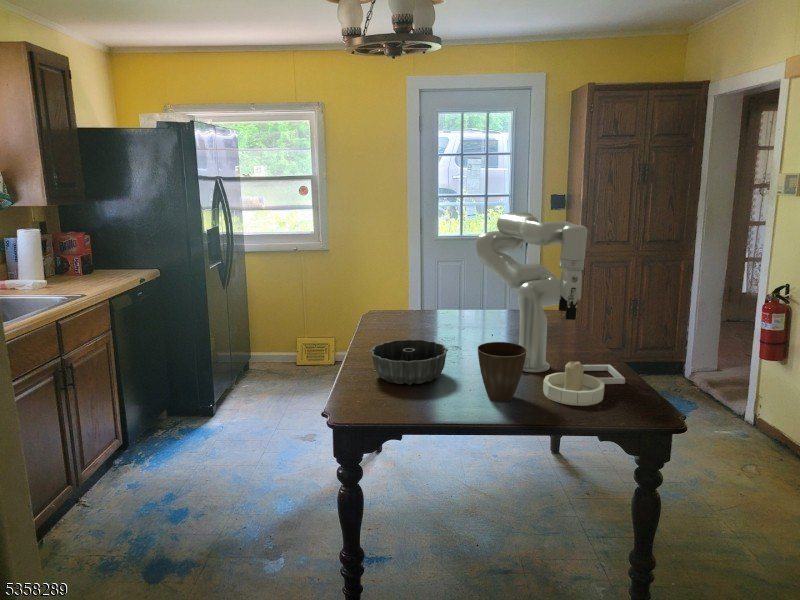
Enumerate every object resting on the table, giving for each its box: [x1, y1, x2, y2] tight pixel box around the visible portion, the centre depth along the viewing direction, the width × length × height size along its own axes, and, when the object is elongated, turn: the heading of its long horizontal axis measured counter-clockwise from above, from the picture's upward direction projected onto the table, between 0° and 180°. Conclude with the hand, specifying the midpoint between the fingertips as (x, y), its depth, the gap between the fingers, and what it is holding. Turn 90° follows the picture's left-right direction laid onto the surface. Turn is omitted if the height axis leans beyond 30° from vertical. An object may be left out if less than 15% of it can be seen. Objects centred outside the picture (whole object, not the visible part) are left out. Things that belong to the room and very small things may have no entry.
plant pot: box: [477, 341, 527, 403], centre depth 180 cm, size 15×15×16 cm
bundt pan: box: [369, 338, 449, 386], centre depth 201 cm, size 26×26×10 cm
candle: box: [564, 360, 585, 391], centre depth 183 cm, size 6×6×10 cm
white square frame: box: [582, 364, 626, 385], centre depth 200 cm, size 14×14×2 cm
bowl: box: [542, 371, 606, 407], centre depth 184 cm, size 18×18×4 cm
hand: (566, 314), depth 191 cm, fingers open, 9 cm apart
